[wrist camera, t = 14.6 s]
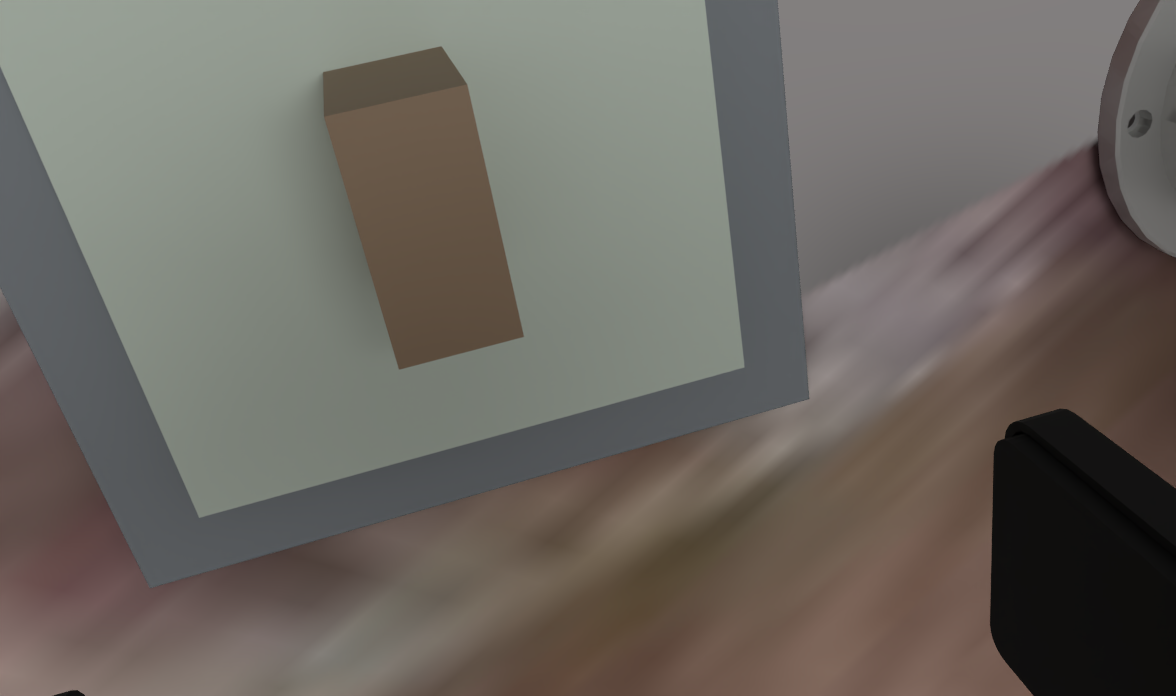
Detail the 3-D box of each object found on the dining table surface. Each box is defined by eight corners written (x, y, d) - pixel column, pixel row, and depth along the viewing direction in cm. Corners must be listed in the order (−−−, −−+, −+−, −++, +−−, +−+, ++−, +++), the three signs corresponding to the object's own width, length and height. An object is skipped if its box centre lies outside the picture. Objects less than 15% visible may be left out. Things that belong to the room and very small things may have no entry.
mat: (737, -384, 24) (746, -389, 23) (801, 390, 34) (809, 398, 34) (-237, -216, 21) (-251, -217, 21) (152, 576, 31) (149, 588, 31)
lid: (664, -250, 24) (759, -282, 19) (733, 353, 32) (813, 448, 27) (-64, -115, 22) (-184, -110, 17) (202, 498, 30) (178, 633, 25)
